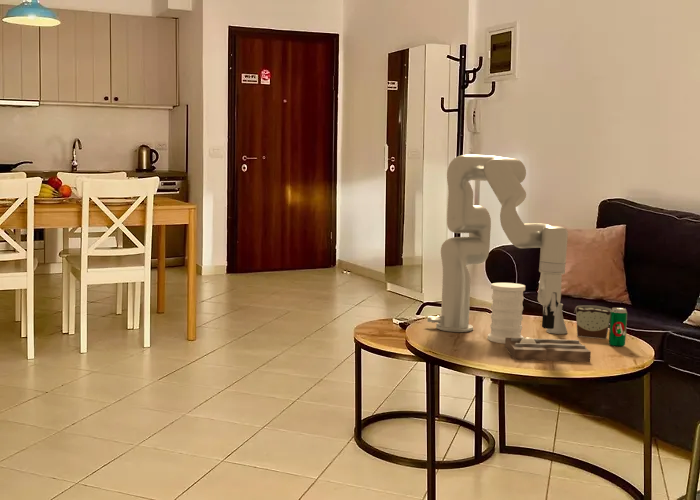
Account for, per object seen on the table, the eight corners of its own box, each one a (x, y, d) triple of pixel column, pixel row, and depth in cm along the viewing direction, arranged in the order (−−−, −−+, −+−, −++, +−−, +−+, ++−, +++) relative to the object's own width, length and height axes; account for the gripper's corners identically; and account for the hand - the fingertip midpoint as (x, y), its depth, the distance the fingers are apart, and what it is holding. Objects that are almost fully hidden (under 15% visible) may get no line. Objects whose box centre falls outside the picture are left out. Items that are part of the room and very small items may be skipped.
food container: (611, 336, 272) (613, 307, 271) (611, 339, 266) (613, 309, 265) (573, 332, 276) (575, 303, 275) (572, 336, 270) (574, 306, 269)
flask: (565, 331, 279) (567, 302, 278) (569, 335, 272) (571, 306, 270) (544, 330, 279) (546, 301, 278) (547, 334, 272) (549, 305, 271)
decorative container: (501, 344, 253) (504, 288, 251) (480, 337, 264) (483, 283, 262) (531, 342, 258) (534, 287, 256) (509, 335, 269) (512, 281, 267)
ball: (517, 343, 239) (533, 336, 239) (515, 339, 244) (530, 332, 244) (524, 358, 240) (540, 351, 239) (522, 353, 245) (537, 347, 244)
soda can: (613, 343, 261) (616, 306, 260) (628, 346, 257) (630, 309, 256) (605, 345, 257) (607, 308, 256) (619, 348, 254) (622, 310, 252)
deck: (514, 359, 234) (514, 346, 234) (505, 347, 250) (505, 335, 250) (590, 361, 234) (590, 349, 233) (576, 349, 250) (576, 337, 249)
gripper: (534, 263, 247) (530, 322, 249) (545, 270, 232) (540, 333, 234) (559, 264, 247) (554, 323, 249) (571, 272, 232) (566, 334, 234)
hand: (547, 327), depth 241 cm, fingers closed
